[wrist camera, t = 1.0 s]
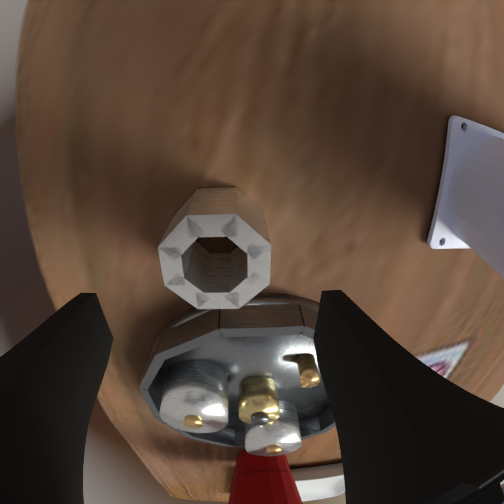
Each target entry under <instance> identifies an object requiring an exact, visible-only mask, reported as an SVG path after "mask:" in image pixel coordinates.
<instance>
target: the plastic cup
mask: <svg viewBox="0 0 504 504" xmlns="http://www.w3.org/2000/svg"><path fill="white" fill-rule="evenodd" d="M229 504H303V503H302V500H301V497H300V494H299V491H298V489H297V486H296V483H295V480H294V477H293V474H292V473H291V471H290V468H289V464H288V461H287V458H286V456H285V454H284V455H279V456H257V455H253V454H250V453H248V452H247V451H246V450H245V451H243V452H241V453H240V454H239V455H238V458H237V460H236V466H235V473H234V477H233V479H232V486H231V492H230V498H229Z"/></svg>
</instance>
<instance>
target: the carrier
mask: <svg viewBox="0 0 504 504" xmlns="http://www.w3.org/2000/svg"><path fill="white" fill-rule="evenodd" d="M319 305H320V303H317V302H314V301H312V300H308V299H304V298H300V297H296V296H289V295H280V294H257V295H256V296H254V297H253V298H252V299H251V300H249V301H248V302H247V303H246V304H244V305H243V306H242V307H241V308H239V309H197V308H195V307H194V308H192V309H190V310H188V311H186V312H184V313H183V314H181V315H179V316H178V317H176V318H175V319H174V320H172V321H171V322H170V323H168V324H167V325H166V327H165V328H164V329H163V330H162V331H161V332H160V333H159V335H158V336H157V338H156V340H155V341H154V344H153V347H152V350H151V353H150V356H149V358H148V360H147V362H146V364H145V366H144V369H143V373H142V377H141V381H140V384H139V390H140V392H141V394H142V396H143V398H144V400H145V401H146V403H147V405H148V407H149V409H150V411H151V412H152V414H153V416H154V417H155V418H156V419H157V420H159V421H161V422H162V423H164V424H166V425H167V426H169V427H170V428H172V429H174V430H176V431H177V432H179V433H181V434H183V435H184V436H186V437H188V438H190V439H194V440H198V441H203V442H207V443H211V444H216V445H221V446H226V447H231V448H245V449H246V451H247V452H248V453H250V454H253V455H257V456H279V455H284V454H288V453H291V452H293V451H295V450H297V449H299V448H300V447H301V445H302V442H301V440H304V439H307V438H310V437H313V436H316V435H319V434H322V433H324V432H327V431H328V430H330V429H331V428H333V427H334V426H336V424H335V420H334V417H333V413H332V410H331V406H330V403H329V400H328V397H327V393H326V390H325V387H324V383H323V380H322V377H321V373H320V370H319V367H318V362H317V357H316V351H315V345H314V339H313V336H314V331H315V326H316V321H317V316H318V310H319Z"/></svg>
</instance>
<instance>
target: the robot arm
mask: <svg viewBox="0 0 504 504" xmlns="http://www.w3.org/2000/svg"><path fill="white" fill-rule="evenodd" d="M462 124H463V129H461V125H462ZM441 239H442V240H441ZM440 240H441V241H440ZM439 241H440V242H439ZM427 243H428V245H429V246H430V247H431V248H432V249H454V248H471V249H472V250H473V251H474V252H476V253H477V254H478V255H479V256H480V257H481V258H482V259H483V260H484V261H485V262H487V263H488V264H489V265H490V266H491V267H492V268H493V269H494V270H495V271H496V272H497V273H498V274H499V275H500V276H501V277H502V278H503V279H504V133H502V132H500V131H497V130H495V129H492V128H490V127H487V126H484V125H482V124H479V123H476V122H474V121H471V120H468V119H465V118H462V117H459V116H451V117H450V119H449V122H448V132H447V141H446V149H445V156H444V163H443V170H442V176H441V181H440V187H439V192H438V197H437V202H436V206H435V211H434V215H433V219H432V224H431V228H430V232H429V235H428V239H427ZM313 339H314V345H315V351H316V357H317V362H318V367H319V370H320V373H321V377H322V380H323V383H324V387H325V390H326V393H327V397H328V400H329V403H330V406H331V410H332V413H333V417H334V420H335V424H336V428H337V432H338V438H339V444H340V450H341V457H342V465H343V473H344V482H345V495H346V504H504V484H502V485H500V482H502V481H503V480H504V408H502V407H499V406H497V405H494V404H492V403H490V402H488V401H486V400H483V399H481V398H479V397H477V396H475V395H473V394H471V393H469V392H468V391H466V390H464V389H462V388H461V387H459V386H457V385H455V384H454V383H452V382H450V381H449V380H447V379H446V378H444V377H442V376H441V375H439V374H438V373H436V372H435V371H434V370H432V369H431V368H429V367H428V366H427V365H425V364H424V363H422V362H421V361H420V360H418V359H417V358H416V357H414V356H413V355H412V354H411V353H409V352H408V351H407V350H406V349H405V348H403V347H402V346H401V345H400V344H399V343H397V342H396V341H395V340H394V339H393V338H392V337H390V336H389V335H388V334H387V333H386V332H385V331H384V330H383V329H382V328H380V327H379V326H378V325H377V324H376V323H375V322H374V321H373V320H372V319H371V318H370V317H369V316H368V315H367V314H366V313H365V312H363V311H362V310H361V309H360V308H359V307H358V306H357V305H356V304H355V303H354V302H353V301H352V300H351V299H350V298H349V297H348V296H347V295H346V294H345V293H344V292H342V291H341V290H329V291H322V293H321V299H320V305H319V310H318V316H317V321H316V326H315V331H314V336H313ZM112 341H113V336H112V334H111V331H110V329H109V326H108V324H107V321H106V319H105V316H104V314H103V311H102V308H101V306H100V303H99V300H98V297H97V294H96V293H80V294H79V295H77V296H76V297H74V298H73V299H72V300H70V301H69V302H68V303H66V304H65V305H64V306H63V307H61V308H60V309H59V310H58V311H57V312H55V313H54V314H53V315H52V316H51V317H49V318H48V319H47V320H46V321H45V322H44V323H42V324H41V325H40V326H39V327H38V328H36V329H35V330H34V331H33V332H31V333H30V334H29V335H28V336H27V337H25V338H24V339H23V340H22V341H20V342H19V343H18V344H17V345H15V346H14V347H13V348H12V349H10V350H9V351H8V352H6V353H5V354H4V355H2V356H1V357H0V504H84V500H83V463H84V451H85V443H86V436H87V429H88V424H89V420H90V416H91V413H92V410H93V406H94V403H95V400H96V397H97V394H98V391H99V388H100V385H101V382H102V379H103V376H104V373H105V370H106V367H107V364H108V360H109V356H110V351H111V346H112Z"/></svg>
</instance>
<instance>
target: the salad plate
mask: <svg viewBox="0 0 504 504" xmlns="http://www.w3.org/2000/svg"><path fill="white" fill-rule="evenodd" d="M290 471H291V473H292V474H293V477H294V480H295V483H296V486H297V489H298V491H299V494H300V497H301V500H302V502H303V501H310V500H317V499H323V498H329V497H334V496H338V495H340V494H342V493H344V492H345V482H344V473H343V465H342V463H338V464H331V465H324V466H316V467H307V468H297V469H290Z"/></svg>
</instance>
